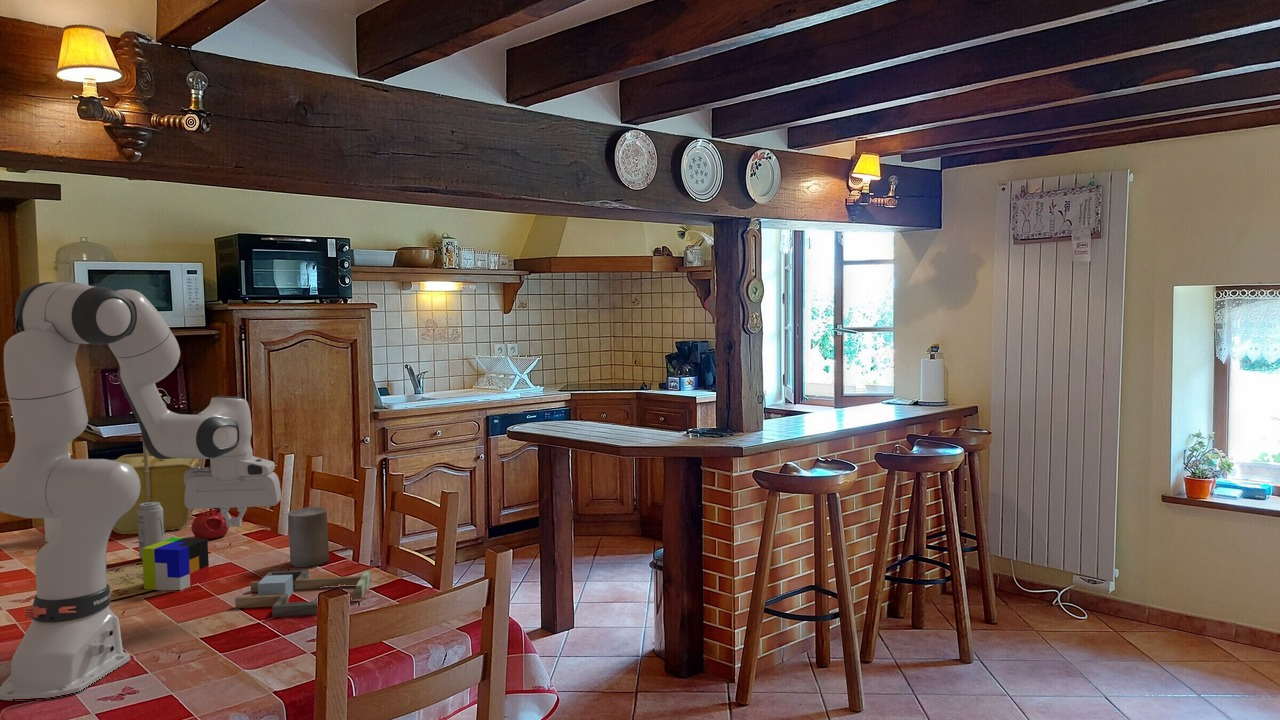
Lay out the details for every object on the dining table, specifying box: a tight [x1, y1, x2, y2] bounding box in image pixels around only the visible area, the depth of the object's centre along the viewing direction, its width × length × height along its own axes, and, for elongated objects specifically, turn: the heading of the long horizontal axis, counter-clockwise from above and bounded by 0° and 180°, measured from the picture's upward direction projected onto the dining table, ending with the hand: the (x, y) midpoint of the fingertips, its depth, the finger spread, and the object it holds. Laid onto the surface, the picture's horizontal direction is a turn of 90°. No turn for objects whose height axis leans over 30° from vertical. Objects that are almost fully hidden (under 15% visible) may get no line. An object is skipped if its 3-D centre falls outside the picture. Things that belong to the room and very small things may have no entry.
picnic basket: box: [112, 440, 206, 535], centre depth 273 cm, size 29×26×30 cm
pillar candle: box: [287, 505, 330, 568], centre depth 229 cm, size 10×10×15 cm
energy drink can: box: [137, 502, 165, 562], centre depth 234 cm, size 6×6×15 cm
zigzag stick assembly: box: [234, 569, 372, 618], centre depth 202 cm, size 27×27×4 cm
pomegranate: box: [191, 508, 230, 540], centre depth 256 cm, size 10×10×9 cm
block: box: [257, 575, 294, 599], centre depth 201 cm, size 6×6×4 cm
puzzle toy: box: [142, 536, 210, 591], centre depth 212 cm, size 10×10×10 cm
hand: (234, 526), depth 199 cm, fingers closed
